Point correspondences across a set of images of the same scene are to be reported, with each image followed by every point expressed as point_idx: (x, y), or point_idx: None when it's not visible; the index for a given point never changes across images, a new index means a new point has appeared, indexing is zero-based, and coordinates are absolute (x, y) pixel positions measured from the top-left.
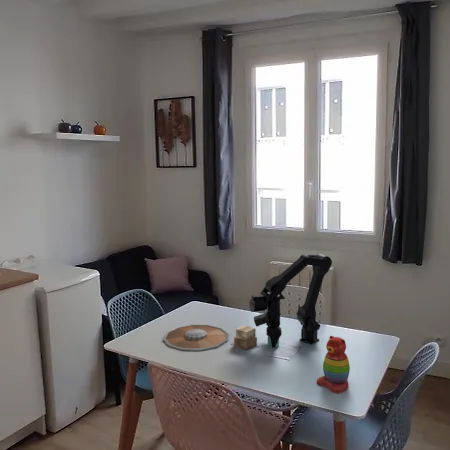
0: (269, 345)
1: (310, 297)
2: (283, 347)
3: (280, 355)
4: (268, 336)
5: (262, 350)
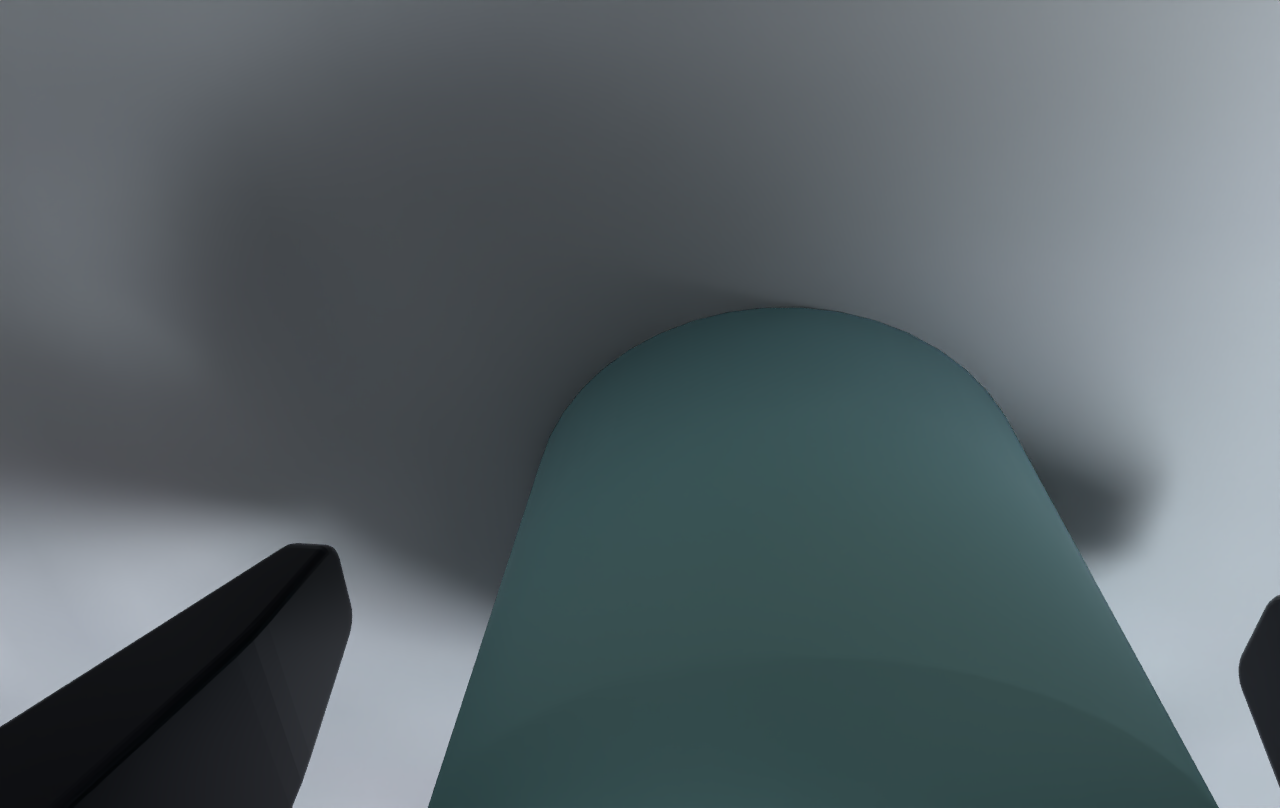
0: (565, 442)
1: None
2: None
3: (6, 660)
4: (996, 726)
5: (179, 41)
